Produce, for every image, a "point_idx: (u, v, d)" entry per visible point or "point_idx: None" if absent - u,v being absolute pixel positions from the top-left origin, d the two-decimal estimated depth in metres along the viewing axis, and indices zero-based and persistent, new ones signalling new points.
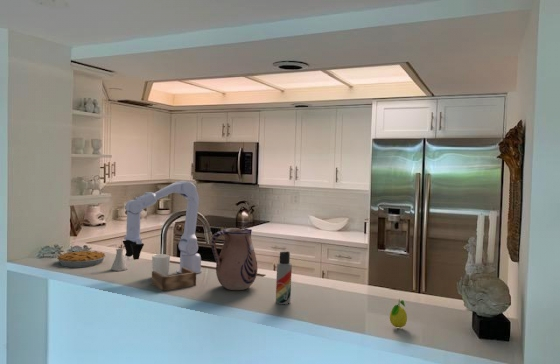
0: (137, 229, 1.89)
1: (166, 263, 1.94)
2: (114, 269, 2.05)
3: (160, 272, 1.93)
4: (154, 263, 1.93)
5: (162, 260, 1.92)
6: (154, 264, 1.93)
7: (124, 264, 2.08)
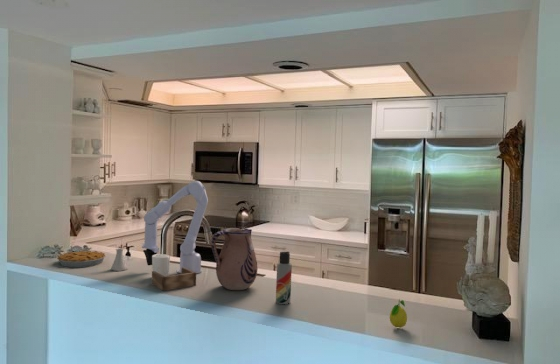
0: (154, 238, 2.03)
1: (166, 263, 1.94)
2: (114, 269, 2.05)
3: (160, 272, 1.93)
4: (154, 263, 1.93)
5: (162, 260, 1.92)
6: (154, 264, 1.93)
7: (124, 264, 2.08)
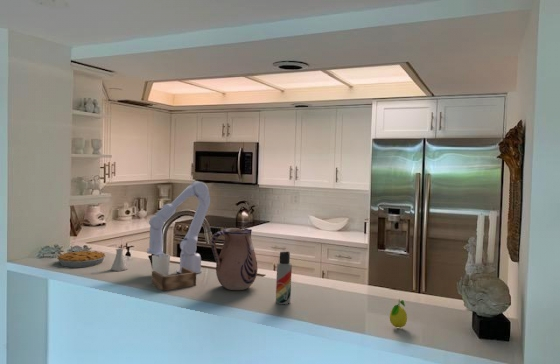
0: (159, 243, 1.99)
1: (166, 263, 1.94)
2: (114, 269, 2.05)
3: (160, 272, 1.93)
4: (154, 263, 1.93)
5: (162, 260, 1.92)
6: (154, 264, 1.93)
7: (124, 264, 2.08)
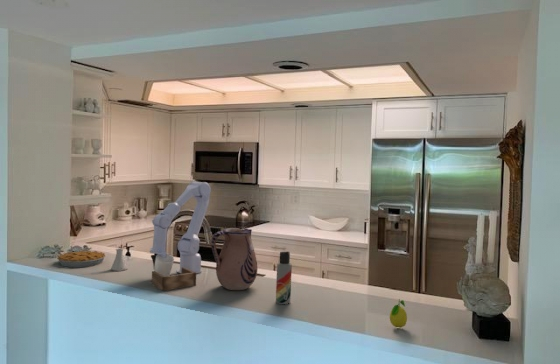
0: (163, 243, 1.93)
1: (170, 267, 1.90)
2: (114, 269, 2.05)
3: (163, 275, 1.89)
4: (158, 266, 1.88)
5: (166, 265, 1.88)
6: (158, 267, 1.88)
7: (124, 264, 2.08)
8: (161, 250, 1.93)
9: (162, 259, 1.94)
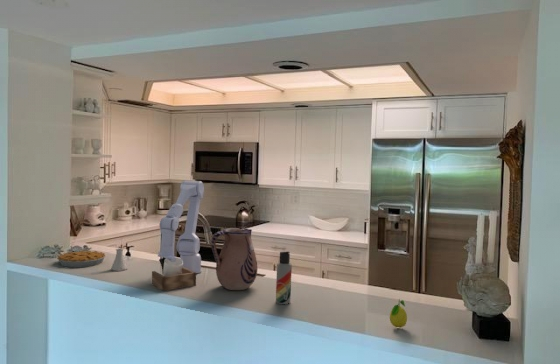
0: (171, 247, 1.88)
1: (179, 270, 1.85)
2: (114, 269, 2.05)
3: None
4: (167, 270, 1.82)
5: (175, 268, 1.82)
6: (167, 271, 1.83)
7: (124, 264, 2.08)
8: (169, 254, 1.87)
9: (171, 263, 1.89)
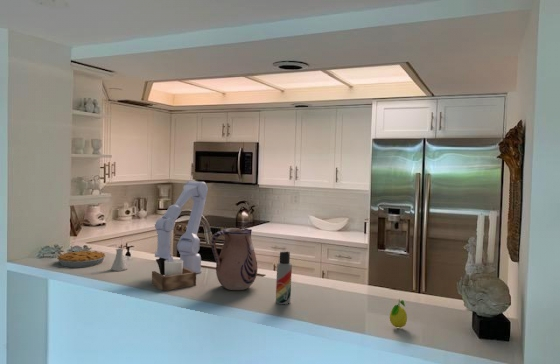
0: (168, 247, 1.92)
1: (180, 268, 1.85)
2: (114, 269, 2.05)
3: None
4: (168, 269, 1.83)
5: (176, 266, 1.83)
6: (168, 270, 1.83)
7: (124, 264, 2.08)
8: (166, 254, 1.91)
9: None
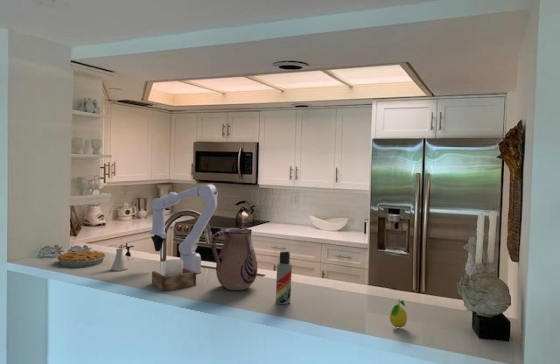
0: (162, 225, 2.07)
1: (180, 268, 1.85)
2: (114, 269, 2.05)
3: None
4: (168, 269, 1.83)
5: (176, 266, 1.83)
6: (168, 270, 1.83)
7: (124, 264, 2.08)
8: (160, 231, 2.06)
9: None
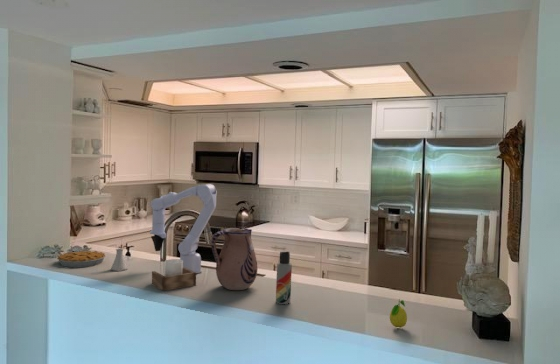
0: (162, 224, 2.07)
1: (180, 268, 1.85)
2: (114, 269, 2.05)
3: None
4: (168, 269, 1.83)
5: (176, 266, 1.83)
6: (168, 270, 1.83)
7: (124, 264, 2.08)
8: (160, 231, 2.07)
9: None
